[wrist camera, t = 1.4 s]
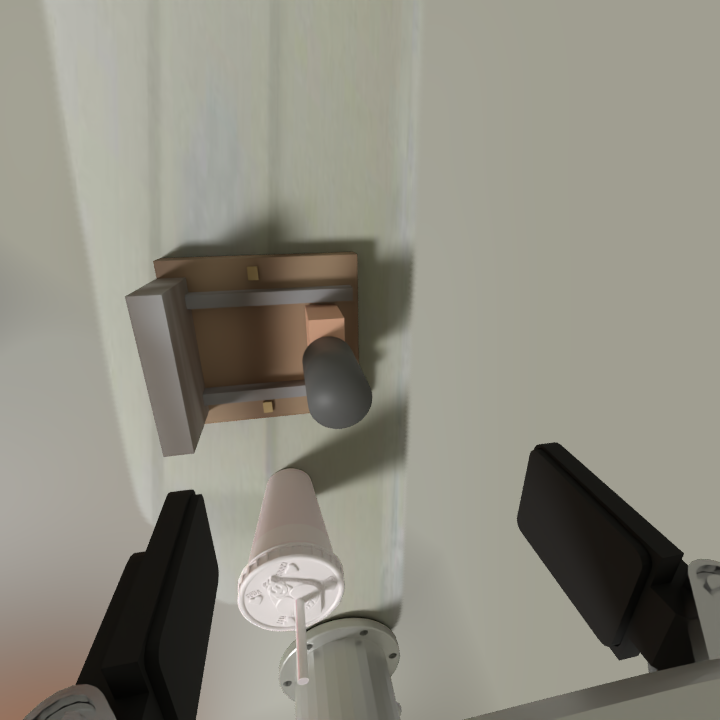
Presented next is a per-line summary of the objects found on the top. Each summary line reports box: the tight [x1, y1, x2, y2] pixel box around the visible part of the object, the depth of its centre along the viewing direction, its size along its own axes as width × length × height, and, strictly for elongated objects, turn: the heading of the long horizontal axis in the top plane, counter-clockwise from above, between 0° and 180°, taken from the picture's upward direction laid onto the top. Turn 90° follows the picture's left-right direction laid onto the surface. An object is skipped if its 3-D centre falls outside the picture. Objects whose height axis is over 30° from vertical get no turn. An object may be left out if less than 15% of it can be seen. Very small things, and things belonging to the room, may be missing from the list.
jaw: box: [302, 304, 372, 429], centre depth 22 cm, size 3×5×9 cm, turn 0°
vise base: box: [125, 252, 359, 457], centre depth 24 cm, size 12×11×6 cm
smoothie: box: [238, 468, 345, 685], centre depth 25 cm, size 6×6×14 cm
